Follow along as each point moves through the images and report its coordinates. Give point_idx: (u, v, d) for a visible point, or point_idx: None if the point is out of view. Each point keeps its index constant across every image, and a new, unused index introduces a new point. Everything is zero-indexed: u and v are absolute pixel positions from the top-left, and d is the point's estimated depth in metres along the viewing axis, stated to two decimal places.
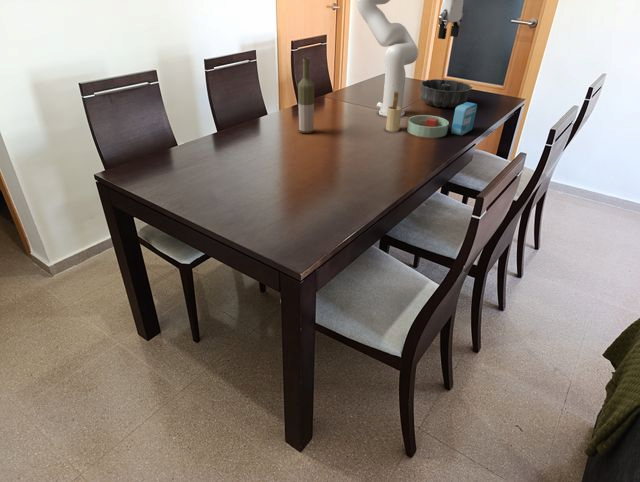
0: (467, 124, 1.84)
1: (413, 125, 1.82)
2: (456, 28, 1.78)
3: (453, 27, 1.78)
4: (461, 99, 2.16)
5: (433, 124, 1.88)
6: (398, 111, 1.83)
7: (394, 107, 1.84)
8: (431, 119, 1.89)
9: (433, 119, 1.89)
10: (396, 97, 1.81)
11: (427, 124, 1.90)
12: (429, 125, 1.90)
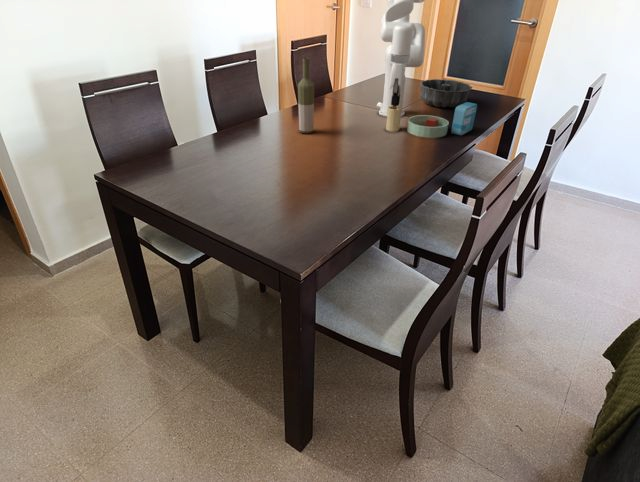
0: (466, 124, 1.84)
1: (413, 125, 1.82)
2: None
3: None
4: (461, 99, 2.16)
5: (433, 124, 1.88)
6: (398, 111, 1.83)
7: (394, 107, 1.84)
8: (431, 119, 1.89)
9: (433, 119, 1.89)
10: None
11: (427, 124, 1.90)
12: (429, 125, 1.90)
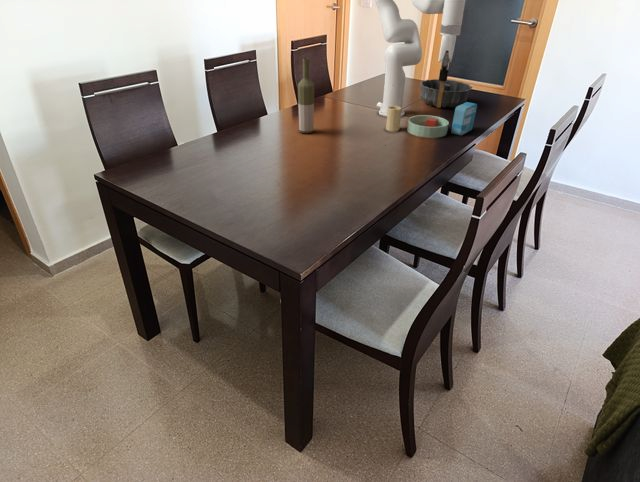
0: (466, 124, 1.84)
1: (413, 125, 1.82)
2: None
3: None
4: (461, 99, 2.16)
5: (433, 124, 1.88)
6: (398, 111, 1.83)
7: (442, 83, 1.74)
8: (431, 119, 1.89)
9: (433, 119, 1.89)
10: None
11: (427, 124, 1.90)
12: (429, 125, 1.90)
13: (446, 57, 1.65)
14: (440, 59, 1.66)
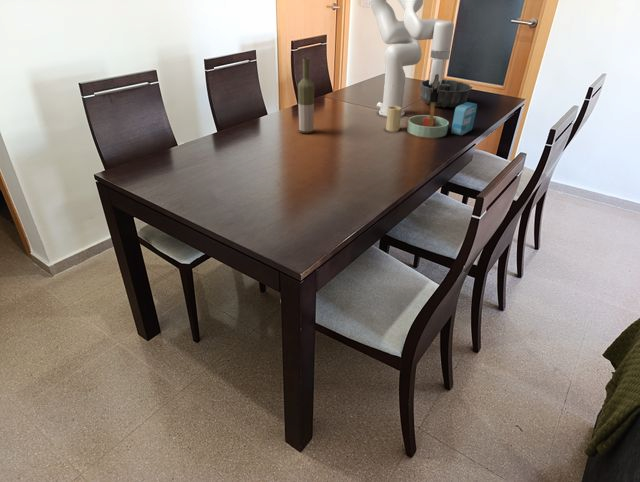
0: (466, 124, 1.84)
1: (413, 125, 1.82)
2: None
3: None
4: (461, 99, 2.16)
5: None
6: (398, 111, 1.83)
7: (432, 103, 1.83)
8: (429, 118, 1.90)
9: None
10: None
11: (425, 123, 1.90)
12: (427, 124, 1.90)
13: (436, 80, 1.75)
14: (431, 82, 1.76)
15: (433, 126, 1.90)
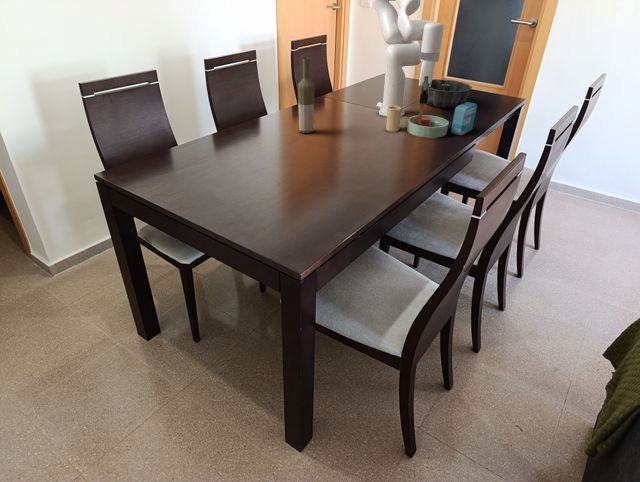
0: (466, 124, 1.84)
1: (413, 125, 1.82)
2: None
3: None
4: (461, 99, 2.16)
5: None
6: (398, 111, 1.83)
7: (421, 105, 1.83)
8: (423, 118, 1.91)
9: (425, 118, 1.90)
10: None
11: None
12: None
13: (426, 82, 1.74)
14: (420, 84, 1.75)
15: None
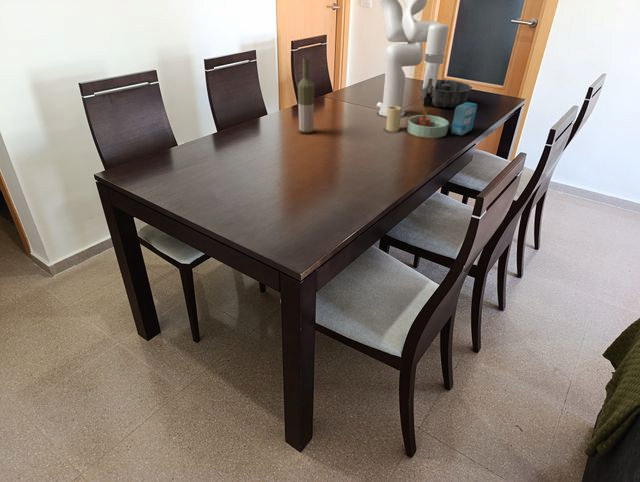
0: (466, 124, 1.84)
1: (413, 125, 1.82)
2: None
3: None
4: (461, 99, 2.16)
5: (420, 122, 1.90)
6: (398, 111, 1.83)
7: (425, 108, 1.79)
8: None
9: None
10: None
11: (419, 122, 1.93)
12: (419, 123, 1.92)
13: (430, 85, 1.70)
14: (424, 86, 1.71)
15: None
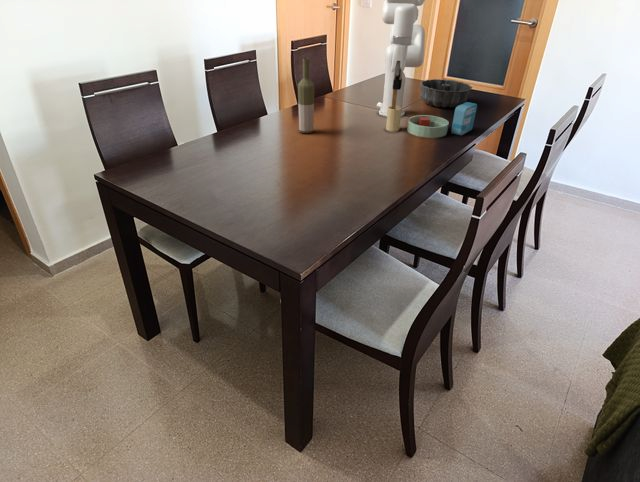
0: (466, 124, 1.84)
1: (413, 125, 1.82)
2: None
3: None
4: (461, 99, 2.16)
5: (420, 122, 1.90)
6: (398, 111, 1.83)
7: (394, 91, 1.80)
8: (423, 118, 1.91)
9: (425, 118, 1.90)
10: None
11: (419, 122, 1.93)
12: (419, 123, 1.92)
13: (398, 67, 1.71)
14: (392, 69, 1.72)
15: None
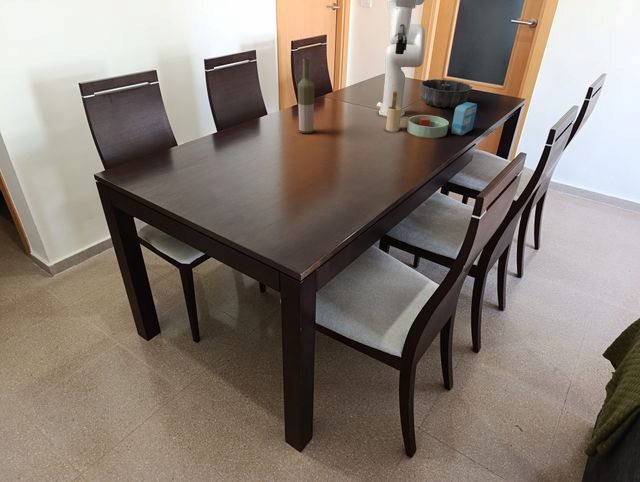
0: (466, 124, 1.84)
1: (413, 125, 1.82)
2: (405, 41, 1.74)
3: None
4: (461, 99, 2.16)
5: (420, 122, 1.90)
6: (398, 111, 1.83)
7: (393, 107, 1.84)
8: (423, 118, 1.91)
9: (425, 118, 1.90)
10: (395, 97, 1.81)
11: (419, 122, 1.93)
12: (419, 123, 1.92)
13: None
14: (396, 33, 1.65)
15: None
